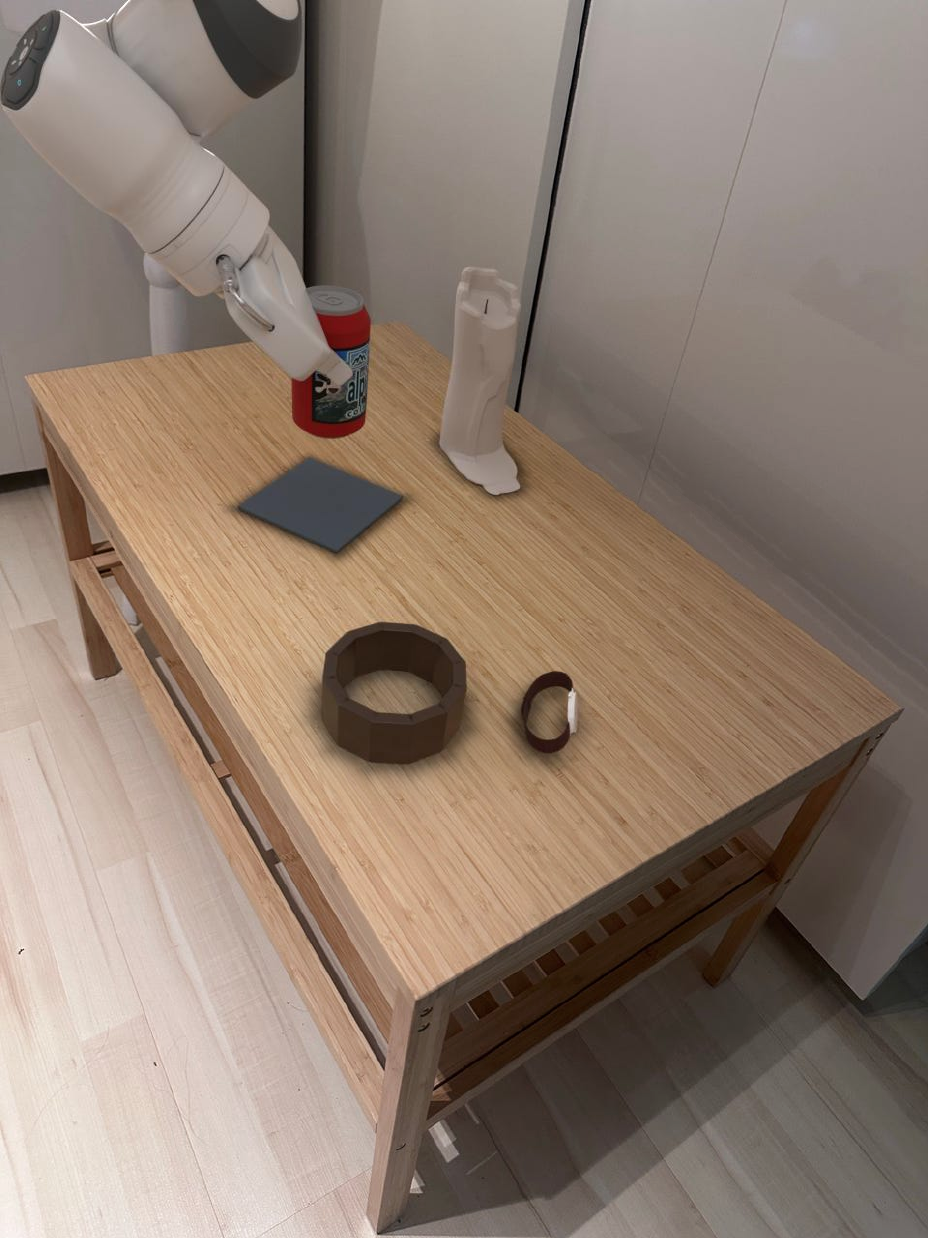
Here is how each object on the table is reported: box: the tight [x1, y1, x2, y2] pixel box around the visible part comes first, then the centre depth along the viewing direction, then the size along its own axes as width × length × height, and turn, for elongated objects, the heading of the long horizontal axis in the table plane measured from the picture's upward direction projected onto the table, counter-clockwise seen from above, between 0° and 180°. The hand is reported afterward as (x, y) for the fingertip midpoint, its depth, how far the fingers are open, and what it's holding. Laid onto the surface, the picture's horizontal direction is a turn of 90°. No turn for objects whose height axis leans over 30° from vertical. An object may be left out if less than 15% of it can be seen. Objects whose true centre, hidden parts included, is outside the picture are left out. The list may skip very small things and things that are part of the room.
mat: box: [236, 457, 404, 555], centre depth 88 cm, size 12×12×1 cm
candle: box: [439, 266, 522, 496], centre depth 92 cm, size 7×14×20 cm, turn 24°
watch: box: [520, 670, 579, 754], centre depth 68 cm, size 8×5×4 cm, turn 170°
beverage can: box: [290, 284, 372, 440], centre depth 76 cm, size 7×7×12 cm
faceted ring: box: [320, 621, 467, 765], centre depth 67 cm, size 11×11×4 cm
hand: (337, 355), depth 76 cm, fingers closed on beverage can, 7 cm apart
